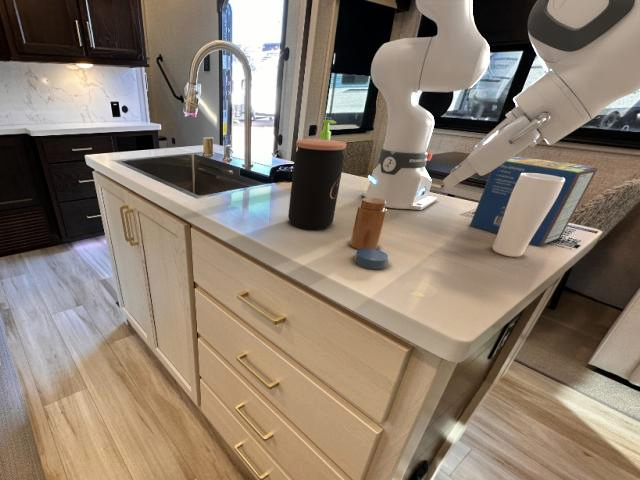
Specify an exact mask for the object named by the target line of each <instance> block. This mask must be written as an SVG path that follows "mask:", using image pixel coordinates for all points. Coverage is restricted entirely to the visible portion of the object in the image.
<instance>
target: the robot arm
mask: <svg viewBox="0 0 640 480" xmlns="http://www.w3.org/2000/svg"><path fill="white" fill-rule="evenodd" d="M415 6H416V8H417V10H418V11H419V13H421V14H422V15H423V16H425V17H426V18H427V19H429V20H431V21H433V22H434V23H435V24H436V27H437V34H436V35H434V36H426V37H404V38H399V39H395V40H392V41H388V42H385V43H383V44H382V45H381V46H380V47H379V48H378V50H377V51H376V53H375V55H374V57H373V59H372V62H371V67H370V78H371V80H372V83H373V85H374V87H376V88H377V89H378V90H379V92H380V93H381V95H382V97H383V98H384V101H385V104H386V108H387V125H386V131H385V137H384V142H383V147H382V149H380V152H379V154H378V161H377V162H378V165H377V166H376V167H375V168H374V169H373V170H372V173H371V175H370V174H368V176H367V178H368V179H369V183H368V186H367V189H366V191H363V192H362V196H363V198H379V199H382V200H385V201H386V204H385V208H389V209H398V210H399V209H400V210H413V211H414V210H415V211H422V210H424V209H425V208H427V207H429V206H430V205H431V204H434V203H435V202H436V200H437V197H435V196H433V195H430V190H431V187H432V184H433V183H432V181H433V180H432V179H431V177H430V175H429V173H428V171H427V169H426V166H427V161H429V162H430V161H431V159H432V157H433V153H432V152H427V151H428V147H429V143H430V140H431V137H432V134H433V129H434V126H435V119H434V116H433V115H432V113H431V112H430V111H428V110H427V109H425V108H424V107H422V106H421V105H420V104H418V102H416V94H417V93H419V92H428V93H429V92H431V93H451V92H457V91H462V90H468V89H471V88H472V87H473V86H474V85H476V84H477V83H478V81H480V79H481V78H482V77H483V76H484V74H485V72H486V70H487V69H488V66H489V62H490V57H491V51H490V45H489V44H488V42H487V40H486V39H485V37H483V36H482V35H481V33H480V32H479V30H478V28H477V26H476V24H475V19H474V15H473V0H415ZM527 33H528V38H529V41H530V43H531V45H532V48H533V49H534V52H535V54H536V55H537V58H538V60H539V61H540V63H541V65H542V69H543V72H544V74H543V75H541V76H540V77H538V79H536V80H535V81H534V82H532V83H531V84H529V85H528V86H527V87H526V88H525V89H523V90H522V91H521V92H519V93H518V94H517V95H516V96H514V97H513V99H512V100H513V102H514V103H515V107H514V108H513V109H511V111H508V112H506V113H505V117H506V118H504V119H503V120H502V121H501V122H500V123H499V124H498V125H496V126H495V128H493V129H492V130H491V131H489V132H488V133H487V135H485V136H484V137H483V138H482V139H481V140H480V141H478V143H477V144H476V145H475V146H474V148H473V149H472V150H471V152H470V153H469V154H468V155H467V157H466V158H465V159H463V161H461V162H460V163H459V164H458V165H456V166H454V168H452V169H451V170H450V174H448V175H447V176H446V177H445V178H443V180H442V183H443V185H444V186H445V187H446V188H447V189H451V188H453V187H455V186H456V185H457V184H459V183H461V182H463V181H465V180H467V179H468V178H471V177H472V176H473V175H475V174H478V175H479V176H481V177H483V176H485V175H488V174H490V173H491V171H492V170H494V169H495V168H497V167H498V166H500V165H501V164H503V163H504V162H506V161H507V160H509V159H510V158H512V157H515V156H516V155H517V154H519V153H520V152H523V150H524V149H526V148H528V147H530V148H534V147H536V145H537V144H540V143H541V142H542V141H545V142H546V143H547V144H548V145H549V146H552V145H554V144H555V143H557V142H559V141H560V140H562V139H563V138H565V137H567V136H568V135H569V134H572V133H573V132H574V131H576V130H578V129H579V128H580V127H582V126H584V125H585V124H587V123H588V122H590V121H592V120H593V119H595V118H596V117H597V116H598V115H599V114H600V113H602V111H603V110H605V109H606V108H607V107H608V106H609V105H611V104H612V103H614V102H616V101H618V100H621V98H624V97H626V96H630V95H631V94H633V93H635V92H637V91H639V90H640V0H536V2H535V3H534V5H533V7H532V9H531V10H530V13H529V15H528V19H527Z"/></svg>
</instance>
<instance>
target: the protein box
mask: <svg viewBox="0 0 640 480" xmlns="http://www.w3.org/2000/svg"><path fill="white" fill-rule="evenodd" d="M598 170H599V167H597V166H591V165H582V164H575V163H567V162H560V161H552V160H545V159H539V158H538V159H537V158H531V157H525V156H513V157H512V158H510V159H509V160H507V161H506V162H504V163H503V164H501V165H500V166H498V167H497V168H495V169H494V170H492V171H491V172H489V176H488V178H487V181H486V184H485V186H484V188H483V191H482V194H481V196H480V198H479V201H478V204H477V206H476V209H475V210H474V213H473V216H472V218H471V221H470V223H469V226H471V227H473V228H478V229H481V230H483V231H487V232H491V233H493V234H496V235H497V234H498V231H499V228H500V225H501V222H502V219H503V216H504V213H505V210H506V207H507V204H508V201H509V199H510V196H511V193H512V191H513V189H514V186H515V184H516V182H517V180H518V178H519V176H520V174H522V173H538V174H546V175H553V176H558V177H561V178H564V179H565V182H564V184H563V187H562V189H561V191H560V193H559V195H558V197H557V199H556V201H555V202H554V204H553V206H552V207H551V209H550V211H549V212H548V214H547V215H546V217H545V219H544V220H543V222H542V223H541V225H540V226H539V228H538V230H537V231H536V233H535V234H534V236H533V238H532V239H531V241H530V242H529V244H531V245H533V246H537V247H540V246H544V245H546V244H549V243H551V242H554V241H556V240H559V239H561V238H562V236H563V235H564V233H565V231H566V228H567V227H568V225H569V223H570V221H571V219H572V217H573V216H574V214H575V212H576V210H577V208H578V206H579V205H580V203H581V201H582V199H583V197H584V196H585V194H586V192H587V190H588V188H589V186H590V184H591V183H592V181H593V179H594V177H595V175H596V173H597V171H598Z"/></svg>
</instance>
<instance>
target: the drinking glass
mask: <svg viewBox="0 0 640 480" xmlns="http://www.w3.org/2000/svg"><path fill="white" fill-rule="evenodd" d="M564 182H565V179H564V178H561V177H558V176H553V175H546V174H538V173H522V174H520V176H519V178H518V180H517V182H516V184H515V186H514V189H513V191H512V193H511V196H510V199H509V201H508V204H507V207H506V210H505V213H504V216H503V219H502V222H501V225H500V228H499V231H498V234H497V233H496V236H495V239H494V242H493V244H492V246H491V247H492V251H494V252H495V253H496V254H499V255H501V256H506V257H511V258H513V257H514V258H517V257H518V258H519V257H521V256H523V255H524V253H525V252H526V249H527V248H528V245H529V244H530V243H529V242H530V241H531V239H532V238H533V236H534V234H535V233H536V231H537V230H538V228H539V226H540V225H541V223H542V222H543V220H544V219H545V217H546V215H547V214H548V212H549V211H550V209H551V207H552V206H553V204H554V202H555V201H556V199H557V197H558V195H559V193H560V191H561V189H562V187H563V184H564Z"/></svg>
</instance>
